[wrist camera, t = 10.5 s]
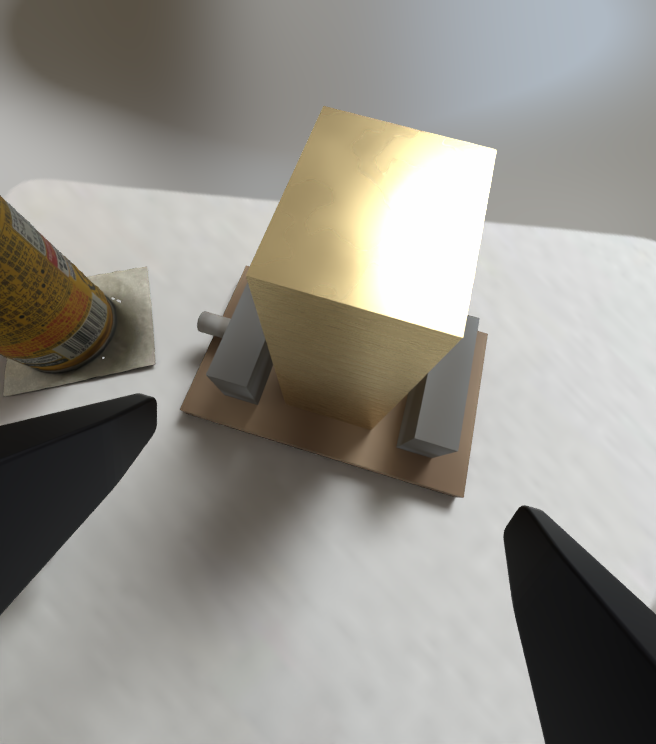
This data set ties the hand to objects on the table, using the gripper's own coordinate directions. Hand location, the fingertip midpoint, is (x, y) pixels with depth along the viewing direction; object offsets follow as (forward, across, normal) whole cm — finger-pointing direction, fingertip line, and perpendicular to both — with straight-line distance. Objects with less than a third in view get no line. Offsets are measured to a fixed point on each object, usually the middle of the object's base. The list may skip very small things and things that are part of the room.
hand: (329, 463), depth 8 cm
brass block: (+12, 0, +3) cm, 12 cm away
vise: (+12, 0, +4) cm, 13 cm away
